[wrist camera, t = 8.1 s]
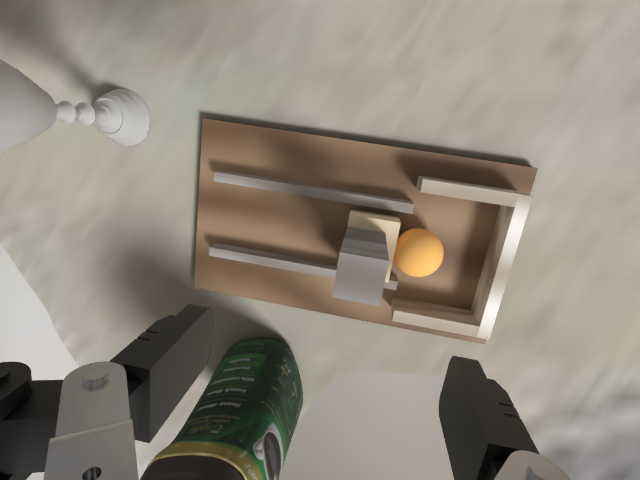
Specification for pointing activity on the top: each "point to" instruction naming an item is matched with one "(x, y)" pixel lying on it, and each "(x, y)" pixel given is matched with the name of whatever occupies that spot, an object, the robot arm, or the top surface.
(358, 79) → the top surface
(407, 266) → the ball
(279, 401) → the coffee jar
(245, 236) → the board
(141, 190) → the top surface
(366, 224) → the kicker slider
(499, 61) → the top surface
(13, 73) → the chalice
